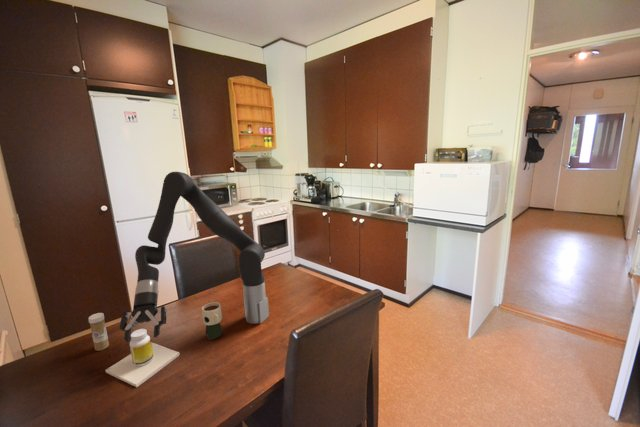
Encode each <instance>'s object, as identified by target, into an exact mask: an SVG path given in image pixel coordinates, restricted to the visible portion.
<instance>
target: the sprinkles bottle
mask: <svg viewBox="0 0 640 427" xmlns="http://www.w3.org/2000/svg"><path fill="white" fill-rule="evenodd" d="M88 323H89V324H90V325H89V326H90V330H91V337H92V341H93V345H94V350H95V351H103V350H105V349H107V348H108V347H109V346H110V342H109V338H108V332H107V327H106V322H105V315H104V313H103V312H97V313H94V314H91V315H90V316H88Z"/></svg>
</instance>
